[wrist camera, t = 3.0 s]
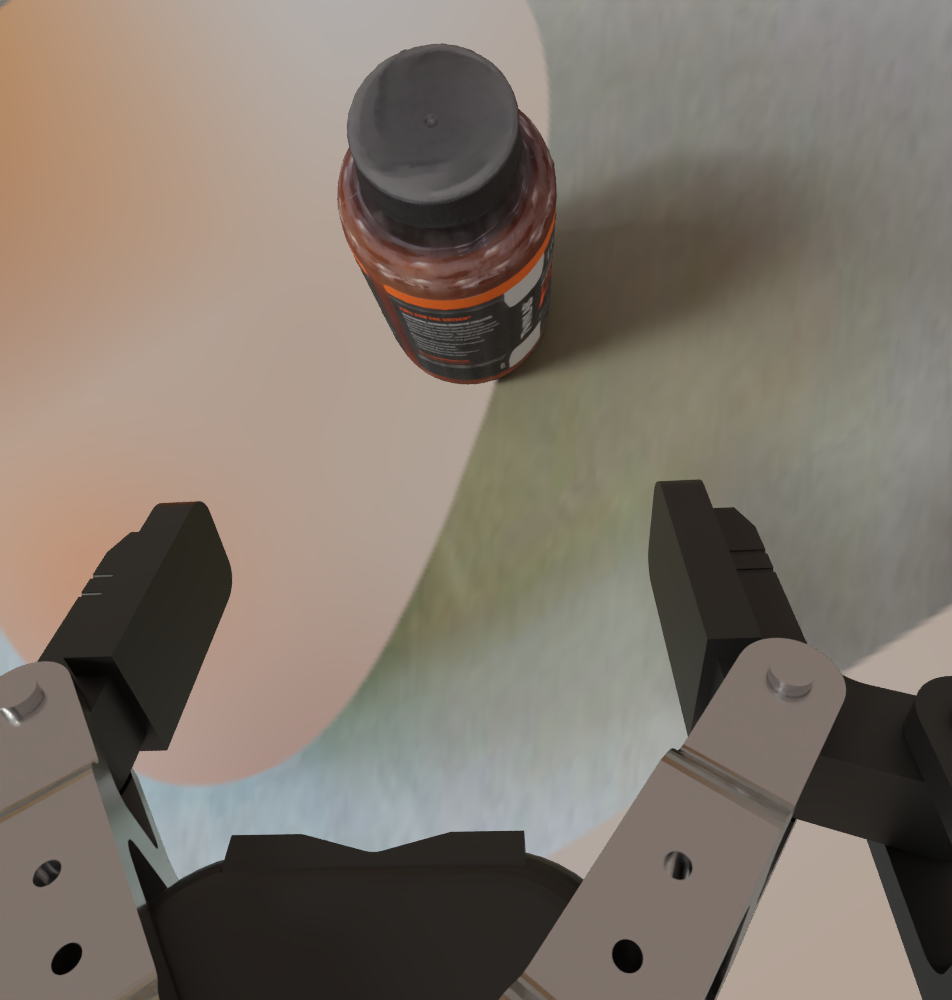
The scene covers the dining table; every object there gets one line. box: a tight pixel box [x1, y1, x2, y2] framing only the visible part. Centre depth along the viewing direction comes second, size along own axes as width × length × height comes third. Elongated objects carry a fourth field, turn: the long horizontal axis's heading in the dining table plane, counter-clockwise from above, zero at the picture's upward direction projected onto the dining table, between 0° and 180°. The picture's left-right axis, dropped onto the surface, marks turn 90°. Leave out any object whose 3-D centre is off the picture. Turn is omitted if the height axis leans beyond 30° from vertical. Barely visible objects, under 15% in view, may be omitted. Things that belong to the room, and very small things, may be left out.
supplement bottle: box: [337, 44, 557, 384], centre depth 22 cm, size 6×6×11 cm
